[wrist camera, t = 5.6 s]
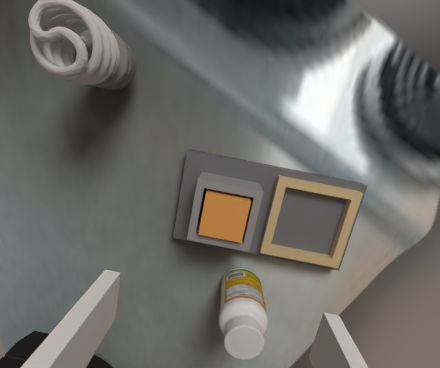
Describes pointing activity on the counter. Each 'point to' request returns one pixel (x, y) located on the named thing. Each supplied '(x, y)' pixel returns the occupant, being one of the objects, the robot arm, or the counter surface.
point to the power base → (273, 208)
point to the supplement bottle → (242, 313)
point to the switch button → (224, 215)
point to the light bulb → (79, 46)
